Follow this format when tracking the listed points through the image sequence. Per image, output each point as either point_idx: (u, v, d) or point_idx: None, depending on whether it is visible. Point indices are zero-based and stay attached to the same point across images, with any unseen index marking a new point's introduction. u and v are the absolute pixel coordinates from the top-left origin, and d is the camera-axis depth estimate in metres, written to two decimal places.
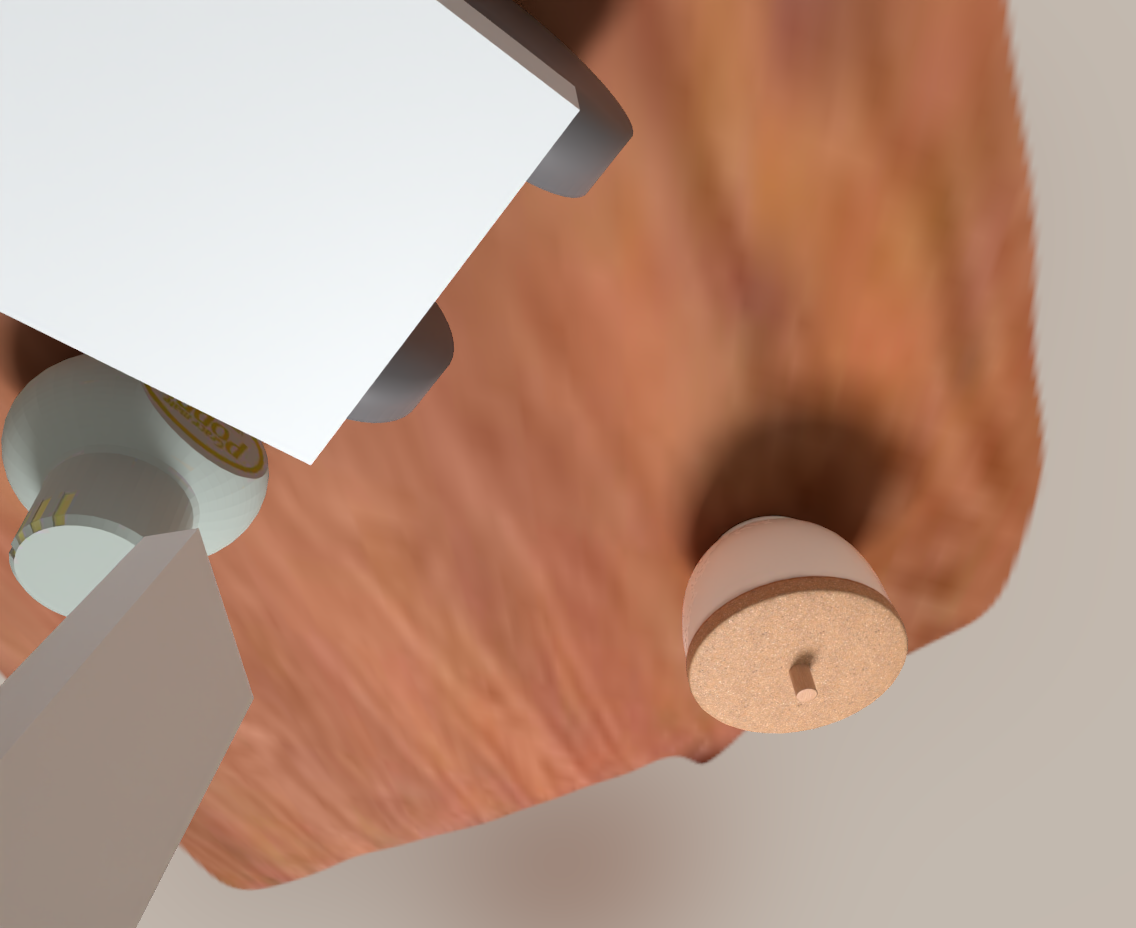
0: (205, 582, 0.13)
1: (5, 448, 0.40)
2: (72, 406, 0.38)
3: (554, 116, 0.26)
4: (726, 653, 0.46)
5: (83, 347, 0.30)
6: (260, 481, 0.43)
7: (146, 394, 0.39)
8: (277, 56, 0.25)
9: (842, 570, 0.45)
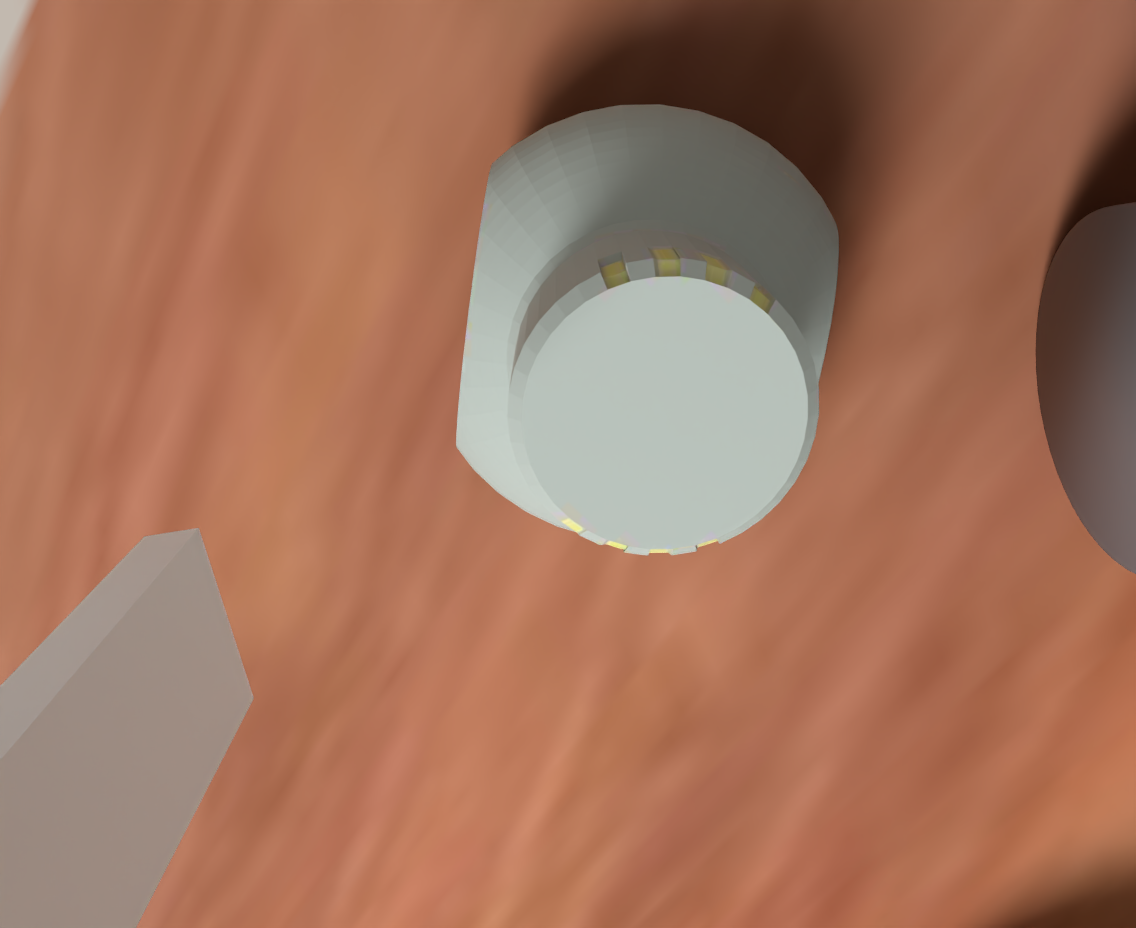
0: (205, 582, 0.13)
1: (563, 144, 0.21)
2: (756, 182, 0.21)
3: None
4: None
5: None
6: None
7: None
8: None
9: None
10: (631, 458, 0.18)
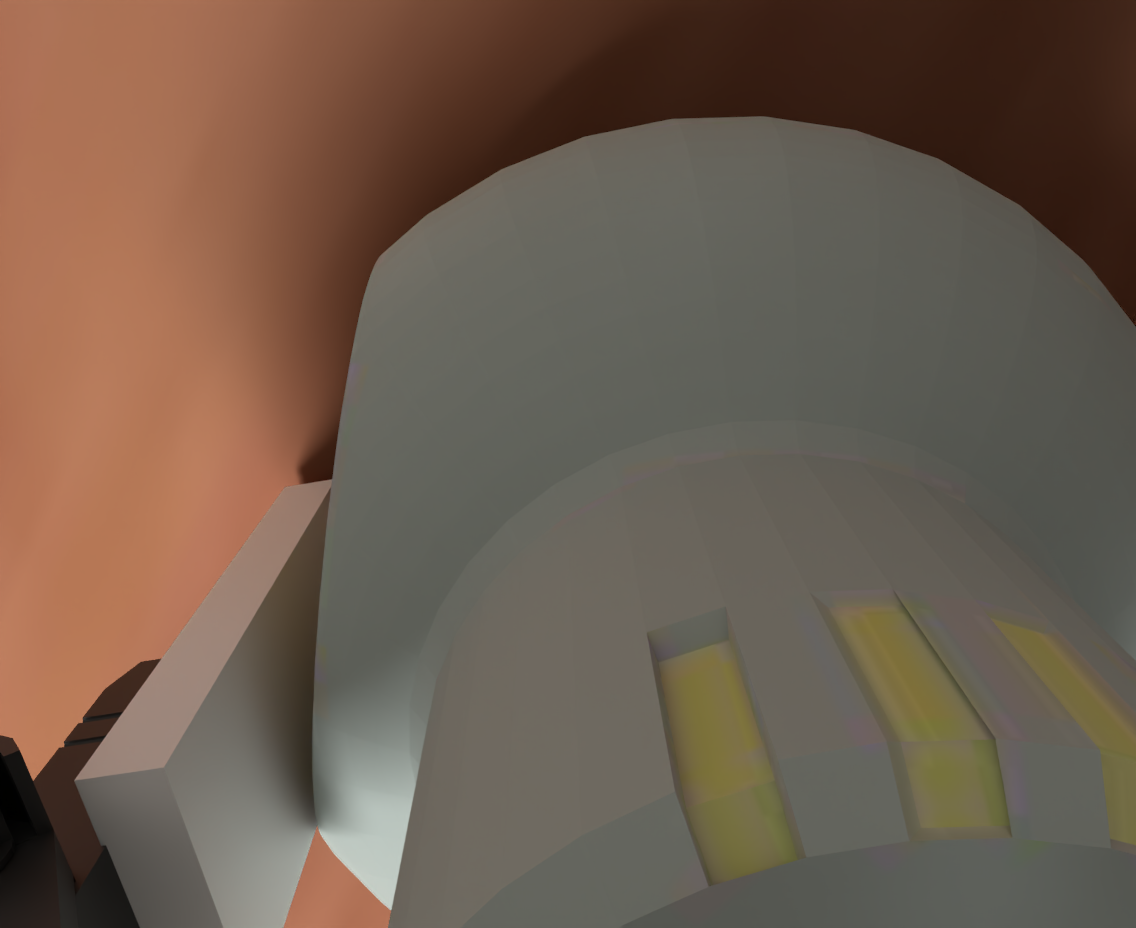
0: None
1: (541, 221, 0.09)
2: (1023, 310, 0.08)
3: None
4: None
5: None
6: None
7: None
8: None
9: None
10: None
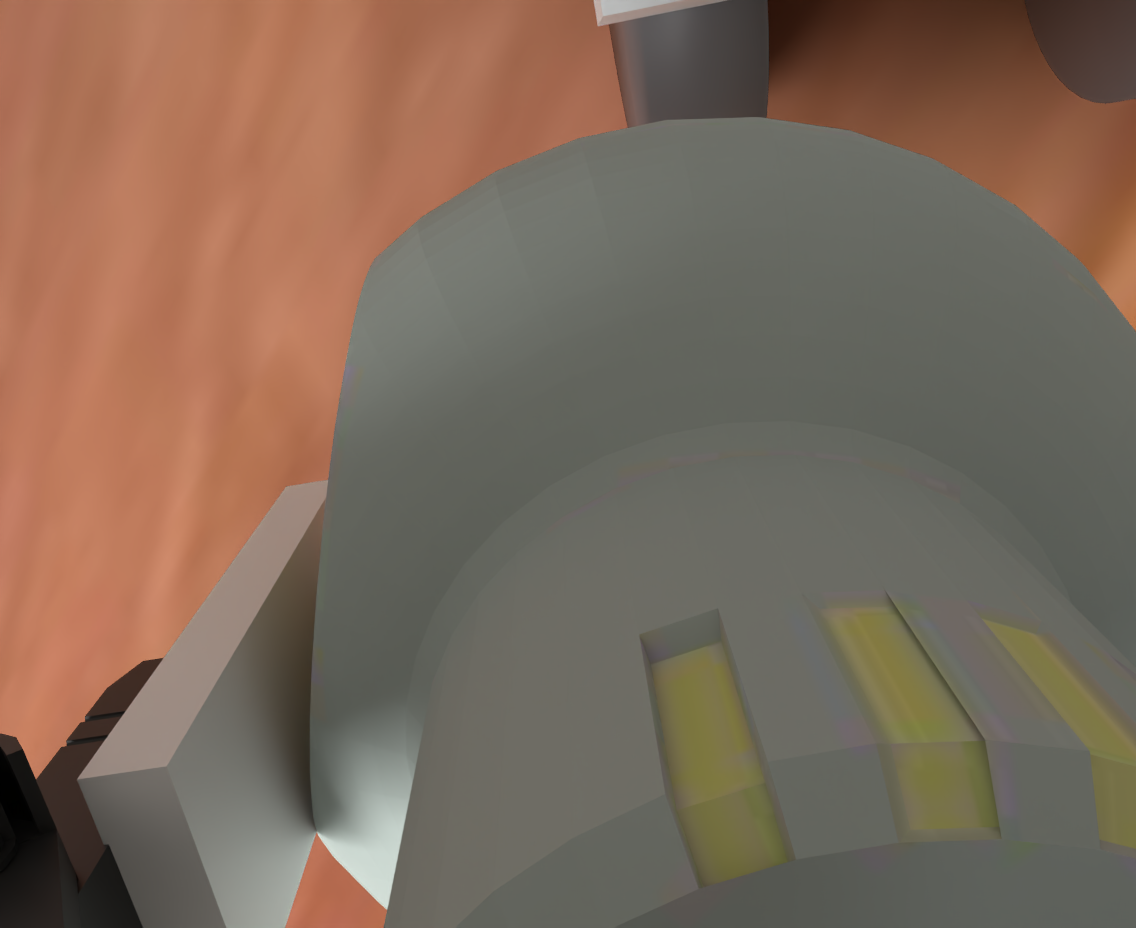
0: None
1: (534, 223, 0.09)
2: (1018, 310, 0.08)
3: None
4: None
5: None
6: None
7: None
8: None
9: None
10: None
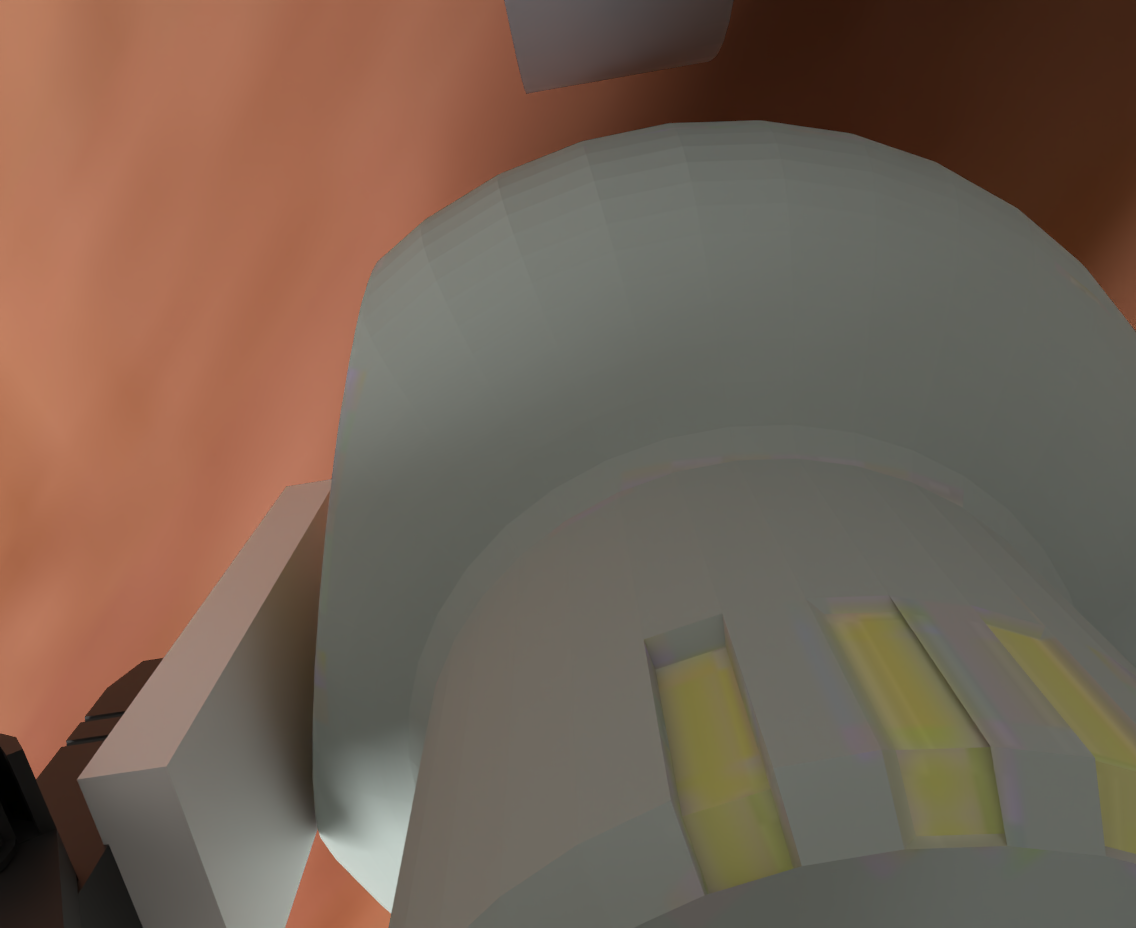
0: None
1: (537, 226, 0.09)
2: (1019, 313, 0.08)
3: None
4: None
5: None
6: None
7: None
8: None
9: None
10: None
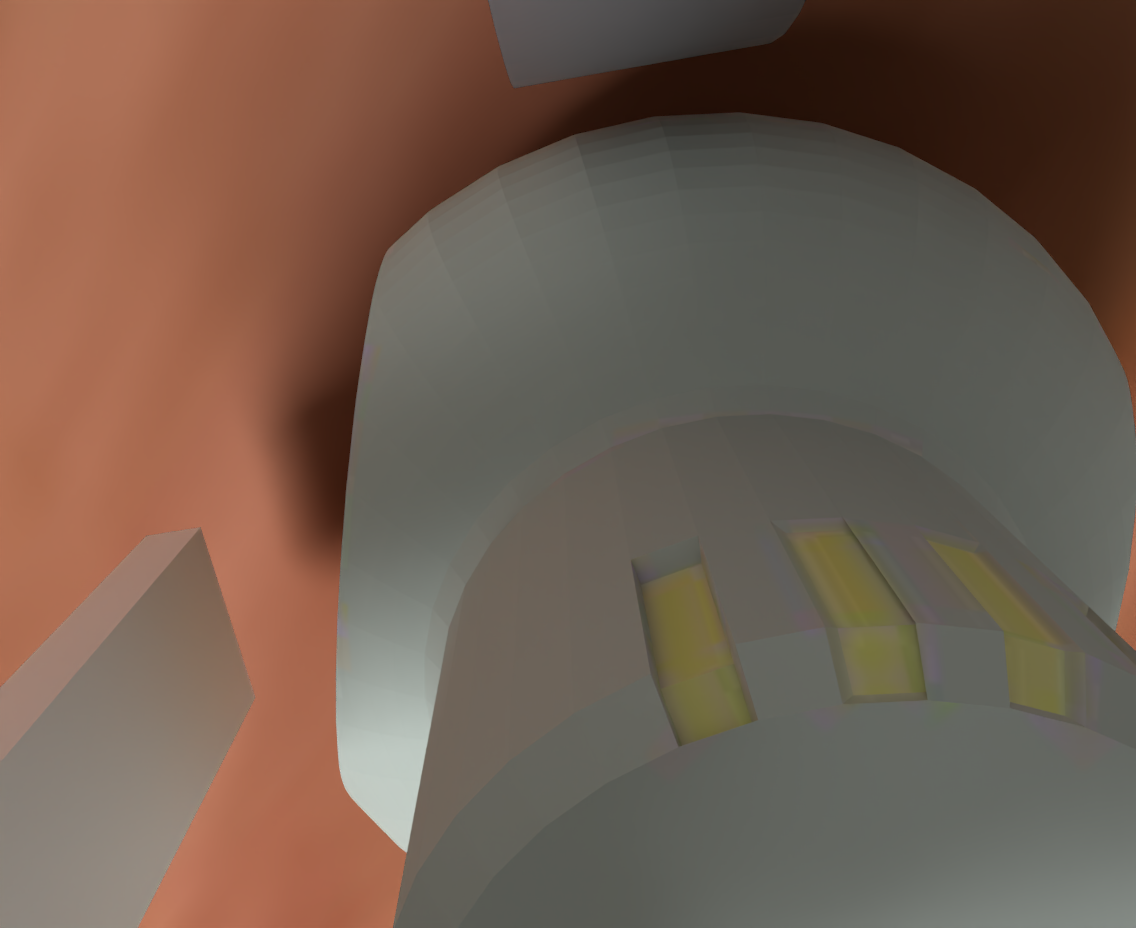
0: (207, 582, 0.13)
1: (534, 211, 0.10)
2: (974, 283, 0.09)
3: None
4: None
5: None
6: None
7: None
8: None
9: None
10: None
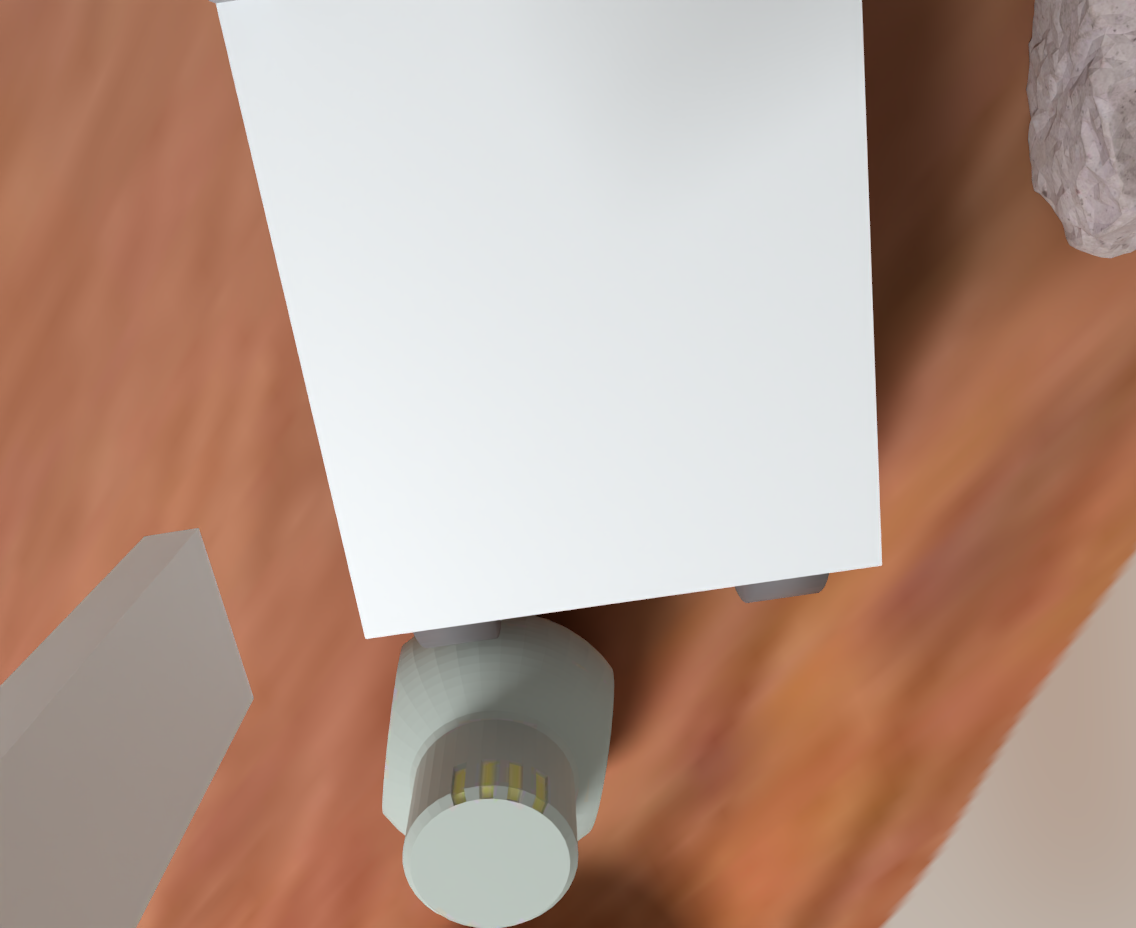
0: (205, 582, 0.13)
1: (441, 657, 0.36)
2: (556, 678, 0.36)
3: (861, 553, 0.28)
4: None
5: (309, 374, 0.25)
6: (584, 834, 0.39)
7: (612, 712, 0.37)
8: (739, 340, 0.25)
9: None
10: (473, 884, 0.32)
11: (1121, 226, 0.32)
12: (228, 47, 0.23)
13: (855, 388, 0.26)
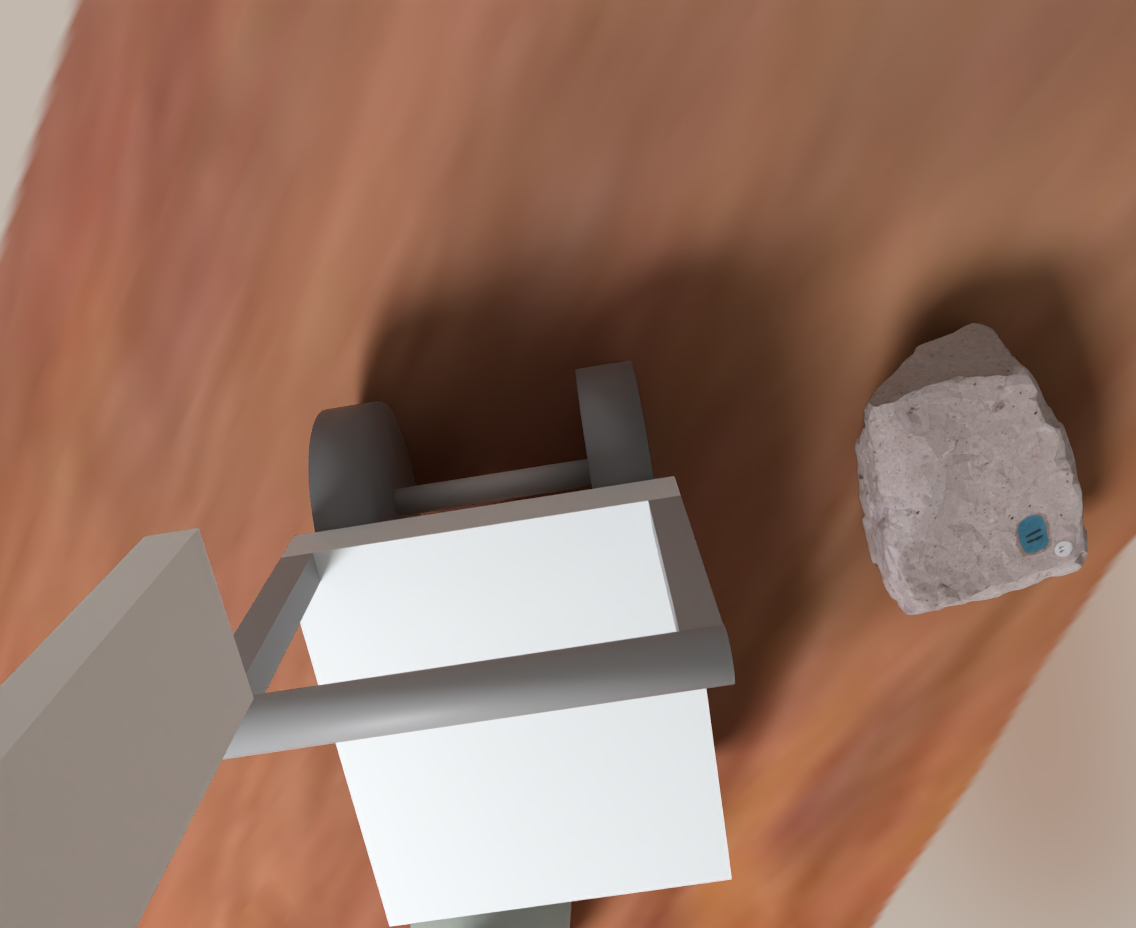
0: (205, 582, 0.13)
1: None
2: None
3: (717, 872, 0.41)
4: None
5: (350, 779, 0.39)
6: None
7: (569, 924, 0.51)
8: (626, 754, 0.39)
9: None
10: None
11: (919, 613, 0.45)
12: None
13: (705, 779, 0.40)
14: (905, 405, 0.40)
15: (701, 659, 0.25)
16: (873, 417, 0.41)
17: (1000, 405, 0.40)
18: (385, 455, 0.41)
